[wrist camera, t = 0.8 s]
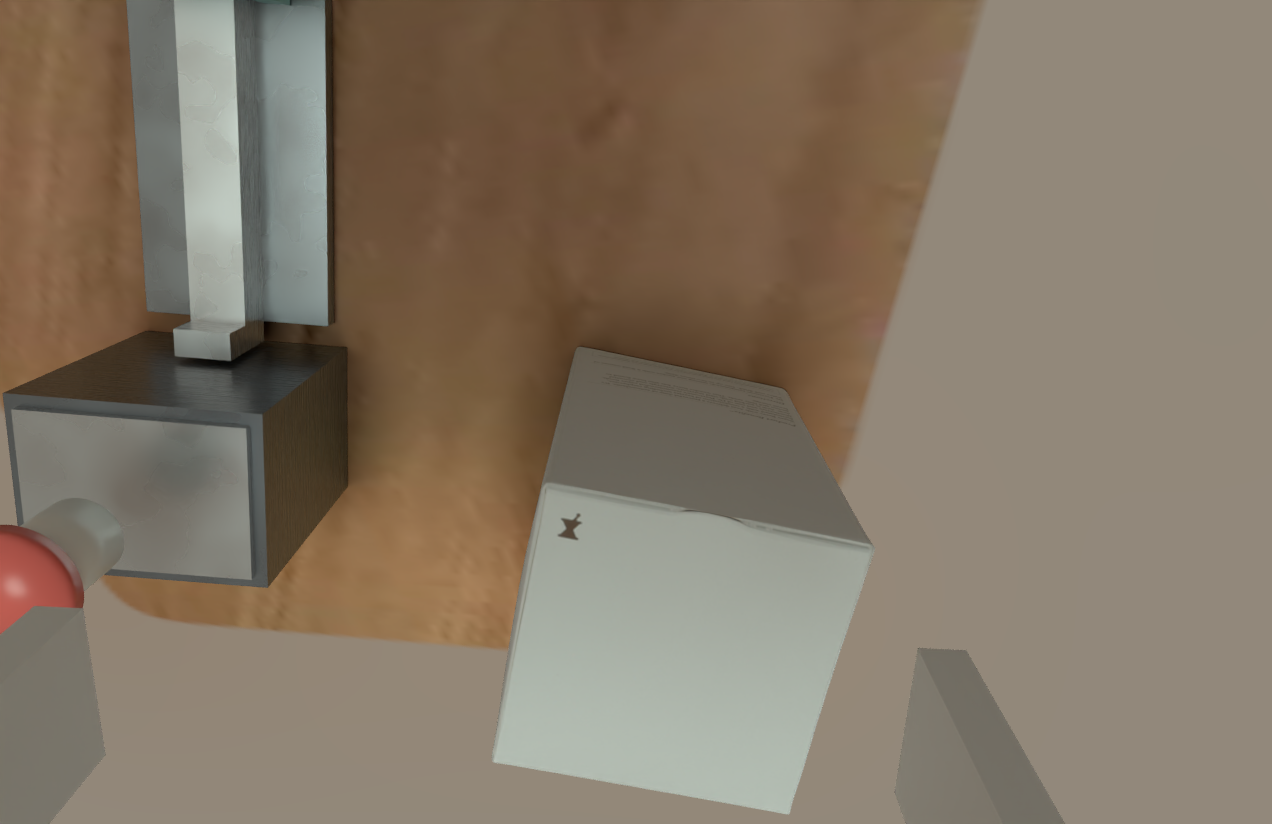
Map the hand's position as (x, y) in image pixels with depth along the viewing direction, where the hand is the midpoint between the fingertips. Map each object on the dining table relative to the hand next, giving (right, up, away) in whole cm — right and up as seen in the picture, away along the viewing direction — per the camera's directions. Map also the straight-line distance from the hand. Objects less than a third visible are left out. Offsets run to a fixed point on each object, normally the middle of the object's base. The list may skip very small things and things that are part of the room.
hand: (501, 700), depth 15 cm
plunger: (-14, +1, +12) cm, 18 cm away
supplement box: (+3, +2, +25) cm, 25 cm away
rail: (-13, +18, +20) cm, 30 cm away
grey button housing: (-14, +5, +24) cm, 28 cm away
